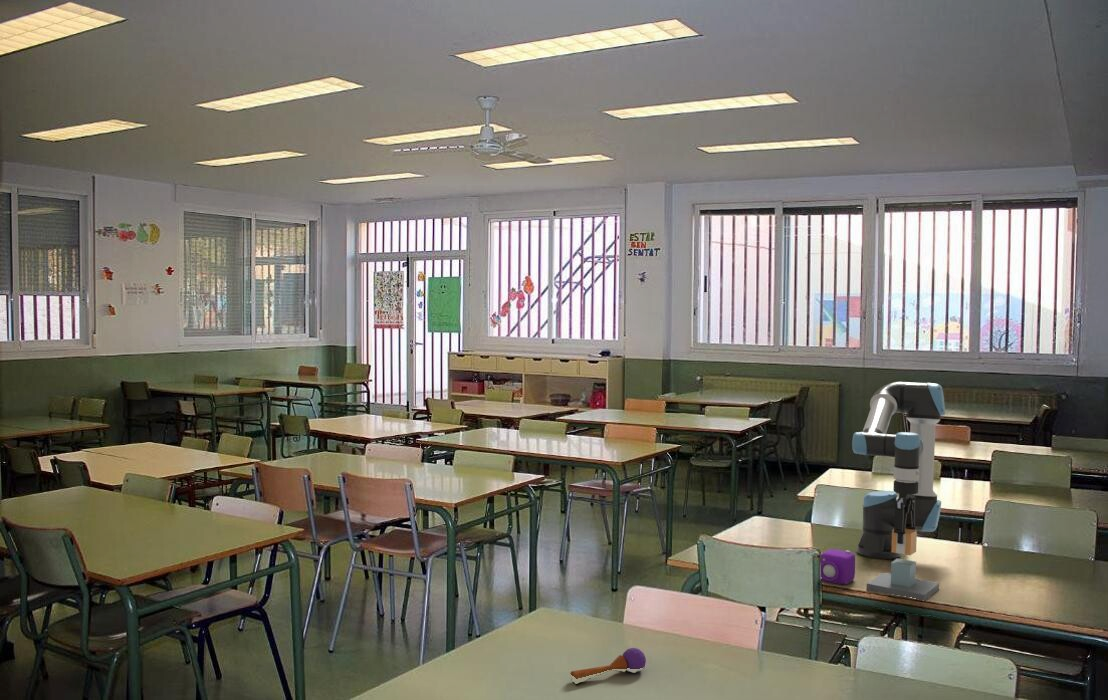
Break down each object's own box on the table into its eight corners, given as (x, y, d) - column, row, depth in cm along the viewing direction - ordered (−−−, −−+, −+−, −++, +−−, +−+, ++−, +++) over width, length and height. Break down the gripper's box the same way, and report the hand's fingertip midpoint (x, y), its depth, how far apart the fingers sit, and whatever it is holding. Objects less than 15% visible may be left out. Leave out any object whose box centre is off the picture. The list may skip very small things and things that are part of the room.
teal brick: (890, 583, 290) (891, 562, 290) (896, 579, 295) (897, 558, 295) (909, 587, 287) (910, 565, 286) (915, 582, 291) (915, 561, 291)
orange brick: (891, 552, 290) (892, 530, 290) (897, 548, 294) (897, 527, 294) (910, 555, 286) (911, 533, 286) (916, 551, 291) (916, 530, 290)
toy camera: (815, 584, 295) (815, 554, 295) (823, 574, 307) (824, 545, 307) (848, 589, 290) (849, 559, 290) (856, 578, 302) (856, 549, 302)
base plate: (866, 589, 290) (866, 583, 290) (883, 578, 303) (883, 572, 303) (924, 601, 279) (924, 594, 279) (938, 589, 292) (939, 583, 291)
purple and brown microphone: (566, 663, 216) (635, 643, 225) (569, 688, 215) (639, 667, 225) (577, 667, 210) (648, 647, 220) (581, 693, 210) (652, 671, 219)
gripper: (908, 486, 280) (906, 559, 280) (926, 478, 294) (924, 547, 295) (884, 483, 284) (882, 555, 285) (903, 475, 299) (901, 543, 300)
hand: (903, 551), depth 290 cm, fingers closed on orange brick, 6 cm apart
